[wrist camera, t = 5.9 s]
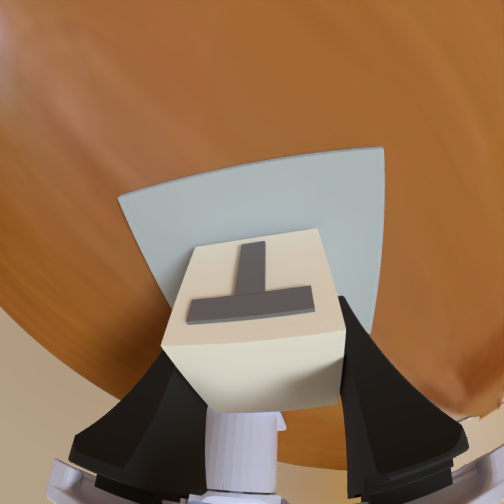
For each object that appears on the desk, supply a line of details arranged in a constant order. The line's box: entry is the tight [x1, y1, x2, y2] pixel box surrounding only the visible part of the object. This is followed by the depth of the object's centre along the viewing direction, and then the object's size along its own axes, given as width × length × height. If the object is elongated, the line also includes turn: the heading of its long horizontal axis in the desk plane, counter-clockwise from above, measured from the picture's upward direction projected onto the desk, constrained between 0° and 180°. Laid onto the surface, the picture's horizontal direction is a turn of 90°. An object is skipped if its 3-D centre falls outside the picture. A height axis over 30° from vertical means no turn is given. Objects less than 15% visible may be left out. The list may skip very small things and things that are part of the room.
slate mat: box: [118, 147, 385, 334], centre depth 13 cm, size 11×11×1 cm
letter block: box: [161, 228, 346, 413], centre depth 10 cm, size 5×5×5 cm
